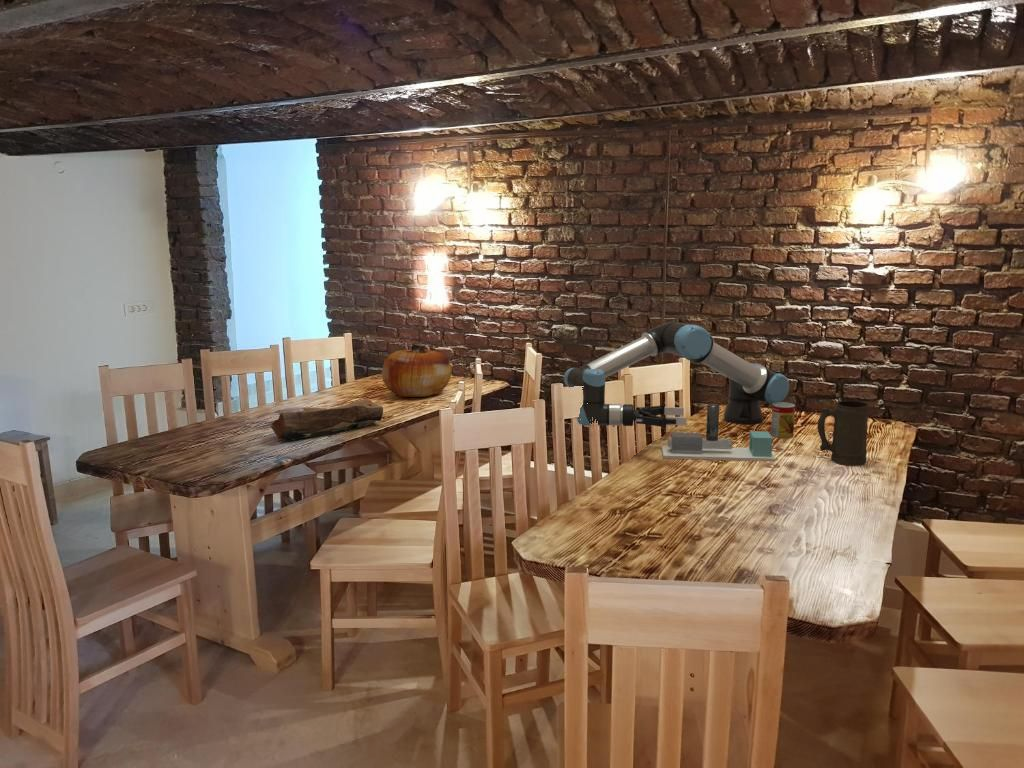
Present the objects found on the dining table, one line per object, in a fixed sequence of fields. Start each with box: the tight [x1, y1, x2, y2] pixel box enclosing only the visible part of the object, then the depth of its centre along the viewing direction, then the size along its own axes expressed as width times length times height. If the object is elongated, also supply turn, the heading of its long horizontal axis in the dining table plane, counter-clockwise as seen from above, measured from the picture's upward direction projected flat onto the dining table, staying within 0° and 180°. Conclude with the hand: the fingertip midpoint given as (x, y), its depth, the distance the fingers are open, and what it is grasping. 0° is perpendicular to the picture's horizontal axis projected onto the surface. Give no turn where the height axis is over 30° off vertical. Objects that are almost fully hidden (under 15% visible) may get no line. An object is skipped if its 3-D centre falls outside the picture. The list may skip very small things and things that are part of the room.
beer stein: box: [817, 400, 870, 467], centre depth 242 cm, size 15×11×20 cm
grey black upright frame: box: [667, 403, 733, 450], centre depth 253 cm, size 21×4×15 cm, turn 81°
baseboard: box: [661, 445, 777, 463], centre depth 254 cm, size 36×12×1 cm, turn 81°
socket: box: [748, 430, 773, 457], centre depth 251 cm, size 6×8×6 cm
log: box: [270, 398, 384, 441], centre depth 292 cm, size 42×18×15 cm, turn 127°
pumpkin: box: [381, 343, 453, 398], centre depth 355 cm, size 33×33×25 cm
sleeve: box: [670, 431, 703, 454], centre depth 254 cm, size 10×6×6 cm, turn 81°
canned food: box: [770, 401, 796, 440], centre depth 274 cm, size 8×8×12 cm
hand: (684, 416), depth 253 cm, fingers open, 13 cm apart
